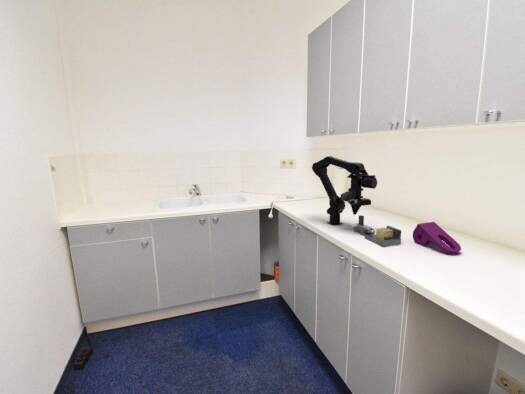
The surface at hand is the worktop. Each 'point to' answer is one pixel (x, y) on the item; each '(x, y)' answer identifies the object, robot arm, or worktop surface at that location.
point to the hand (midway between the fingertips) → (354, 214)
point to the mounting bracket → (435, 238)
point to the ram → (361, 225)
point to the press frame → (372, 237)
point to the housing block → (384, 234)
